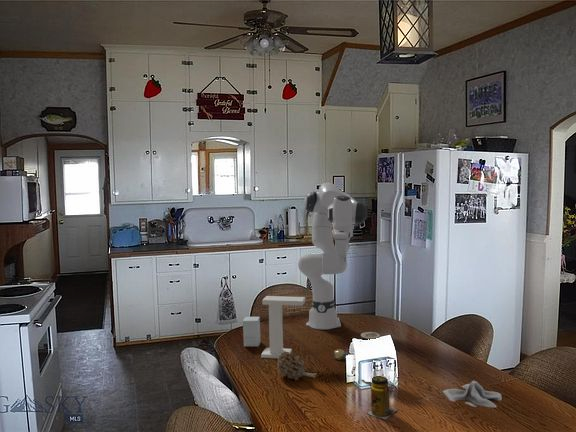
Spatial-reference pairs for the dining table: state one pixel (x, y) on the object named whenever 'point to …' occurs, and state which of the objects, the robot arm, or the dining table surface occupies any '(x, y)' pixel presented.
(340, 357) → the link bar
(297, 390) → the dining table surface
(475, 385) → the cloth
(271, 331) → the stand
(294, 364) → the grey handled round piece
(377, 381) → the condiment
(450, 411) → the dining table surface
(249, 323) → the supplement box
